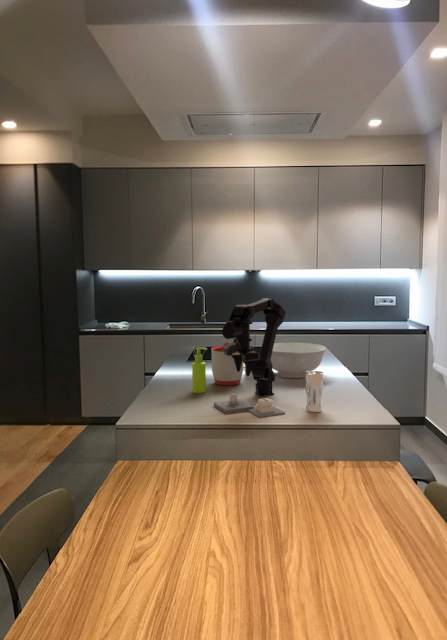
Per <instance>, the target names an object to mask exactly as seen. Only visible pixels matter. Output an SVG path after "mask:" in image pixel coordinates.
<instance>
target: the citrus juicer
mask: <svg viewBox="0 0 447 640" xmlns="http://www.w3.org/2000/svg"><path fill="white" fill-rule="evenodd" d="M230 343H231V342H228V341H226V342H225V343H224V344H223V345H216V346H213V347H211V348H210V350H211V372H212V376H213V379H214V382H215V384H216V385H220V386H231V387H232V386H234V385H238V384H240V382H241V380H242V376H243V372H244V362H243V361H242V365H241V369H240V371H239V372H237V370H236V366H235V363H234V360H233V358H232V357H231V356H227V355H225V354H224V352H223V349H222V347H223V346H225V345H228V344H230Z"/></svg>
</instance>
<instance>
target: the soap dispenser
mask: <svg viewBox="0 0 447 640" xmlns="http://www.w3.org/2000/svg"><path fill="white" fill-rule="evenodd" d="M194 350H196V354H194V361H193V362H192V363H191V369H192V370H191V371H192V372H191V373H192V378H191V379H192V393H194V394H203V393H206V391H207V390H206V389H207V386H206V383H207V380H206V378H207V377H206V375H207V373H206V362H205V361H203V354H201V350H204V351H207V350H208V348H207V347H203V346H201V347H200V346H199V347H195V348H194Z"/></svg>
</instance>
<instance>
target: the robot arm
mask: <svg viewBox="0 0 447 640" xmlns="http://www.w3.org/2000/svg"><path fill="white" fill-rule="evenodd" d="M259 312H262V313H263V315H264V321H265V323H266V327H265V332H264V335H263V341H262V344H261V347H260V353H259V352H257V351H255V350H253V349H252V348H251V342H253V340H252V338H251V333H250V332H251V329H250V327H251V325H253V321H252V320H251V319H252V318H253V317H254V316H255V315H256V314H257V313H259ZM285 317H286V311H285V309H284V308H283V306H281V305H280V304H278V303H277V302H276V301H274V299H273V298H264V297H263V298H261V299H260V300H257V301H255V302H251V303H248V304H236V305H234V307H233V309H232V311H231V314H230V316H229V317H228V318H229V319H228V320H227V321H226V322H225V325H224V326H223V327H222V329H221V334H222V337H223V338H224V339H226V340H231V339H232V340H233V341H232V342H229V343H230V344H228V345H225V346H223V345H222V346H223V347H222V349H223V352H224V354H225V355H227V356H231V357H232V358H233V360H234V363H235V366H236V370H237V372H239V371H240V369H241V365H242V361H243V364H244V367H245V374H246V376H247V377H249V376H250V375H251V374H252V378H253V380H255V381H256V382H255V391H254V393H255V394H256V395H259V396H260V397H266V396H273V395H275V392H273V383H274V382H275V381H276V378H277V375H276V373H275V372H274V369H272V368H273V365H272V362H271V355H272V351H273V346H274V343H275V342H276V341H275V340H276V337H277V334H278V333H277V332H278V328H279V327H280V326H281V325H282V324H283V322H284V319H285Z"/></svg>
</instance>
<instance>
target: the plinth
mask: <svg viewBox="0 0 447 640" xmlns="http://www.w3.org/2000/svg"><path fill="white" fill-rule="evenodd" d="M213 407H214V408H216V409H218V410H219V411H221V412H222V413H224V414H225V415H228V414H229V415H230V414H235V413H243V412H249V411H248V409H254V407H255V406H254V405H252V404H251V403H249V402H247V401H245V400H244V399H242V398H238V393H235V392H234V393H229V400H222V401H214V402H213Z"/></svg>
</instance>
